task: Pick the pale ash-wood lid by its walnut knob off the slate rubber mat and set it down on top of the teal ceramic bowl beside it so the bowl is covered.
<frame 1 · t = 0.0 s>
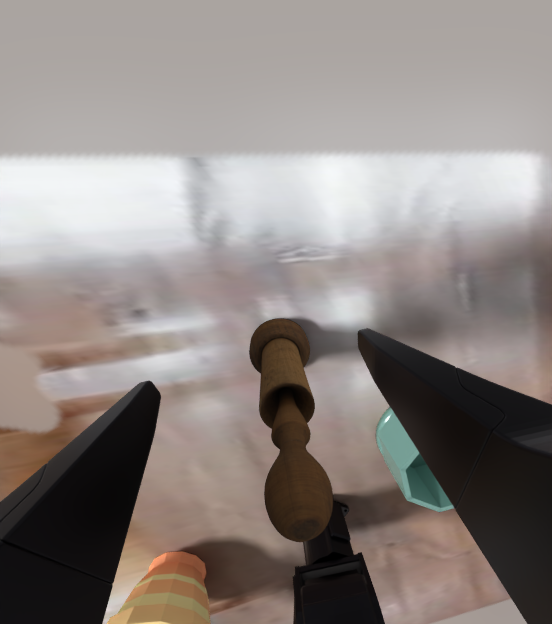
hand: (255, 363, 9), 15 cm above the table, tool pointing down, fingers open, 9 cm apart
bowl: (418, 429, 30), on the table
brown wooden upright piece: (278, 343, 26), on the table
potted cactus: (178, 568, 36), on the table
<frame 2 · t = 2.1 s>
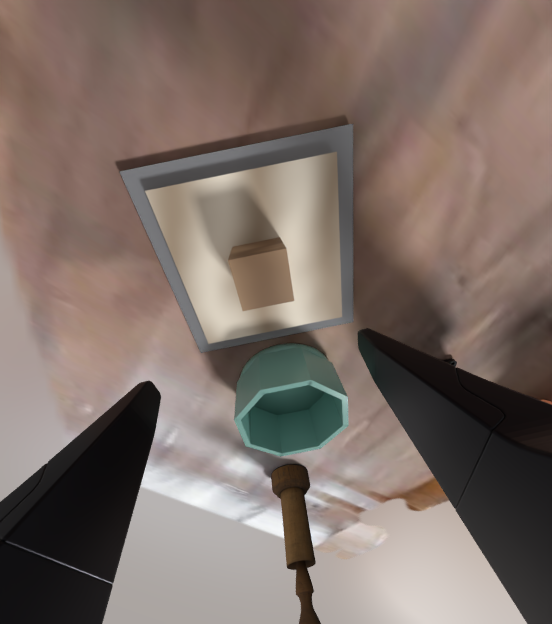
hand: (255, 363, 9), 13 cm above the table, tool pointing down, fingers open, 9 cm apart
bowl: (286, 380, 28), on the table
brown wooden upright piece: (289, 472, 40), on the table
lid: (260, 262, 20), point 1 cm above the table, touching mat
mat: (260, 260, 20), on the table
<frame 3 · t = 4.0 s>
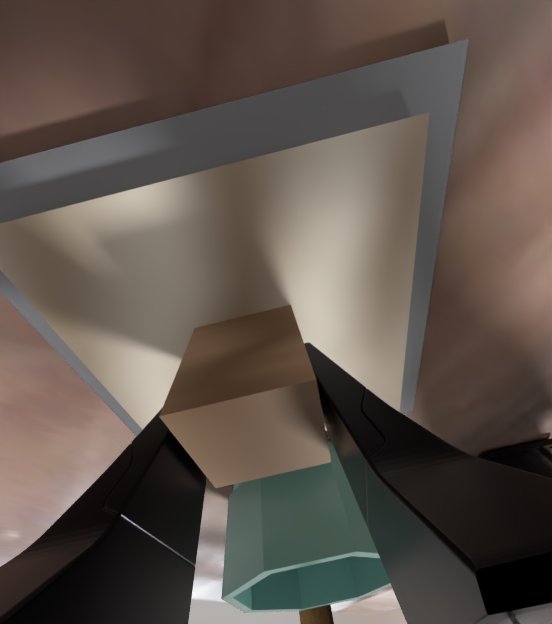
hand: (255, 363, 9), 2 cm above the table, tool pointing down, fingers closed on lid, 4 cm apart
bowl: (303, 479, 19), on the table
brown wooden upright piece: (307, 560, 31), on the table
lid: (255, 342, 11), point 1 cm above the table, touching gripper, mat
mat: (254, 335, 11), on the table
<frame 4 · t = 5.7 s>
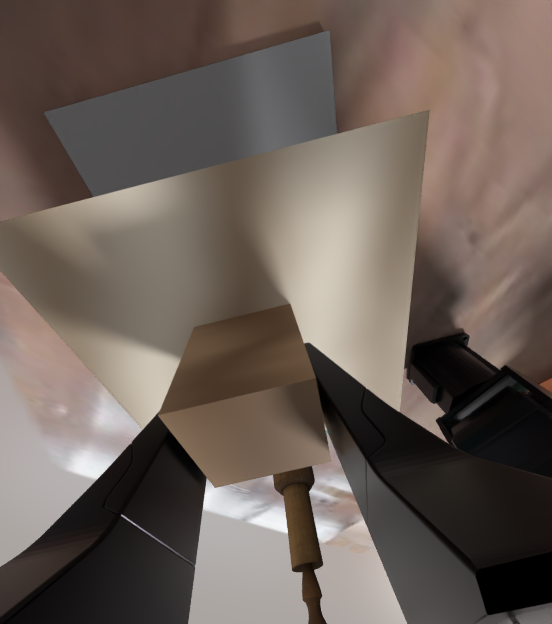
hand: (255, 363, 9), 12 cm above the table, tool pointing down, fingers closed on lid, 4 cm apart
brown wooden upright piece: (292, 467, 37), on the table
lid: (254, 341, 11), point 10 cm above the table, touching gripper
mat: (233, 224, 17), on the table
when the fingers open (9 cm above the table, at t = 7.7 s): lid drops 1 cm, resting on bowl.
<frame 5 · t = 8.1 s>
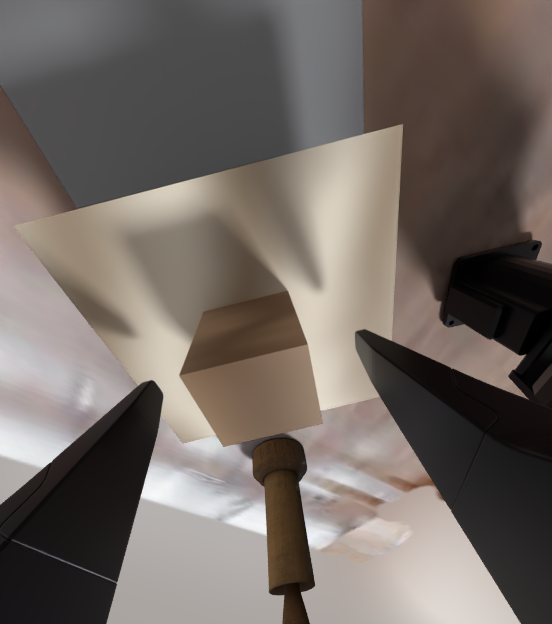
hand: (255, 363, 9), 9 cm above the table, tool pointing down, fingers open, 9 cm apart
brown wooden upright piece: (278, 451, 28), on the table
lid: (256, 326, 12), point 6 cm above the table, touching bowl
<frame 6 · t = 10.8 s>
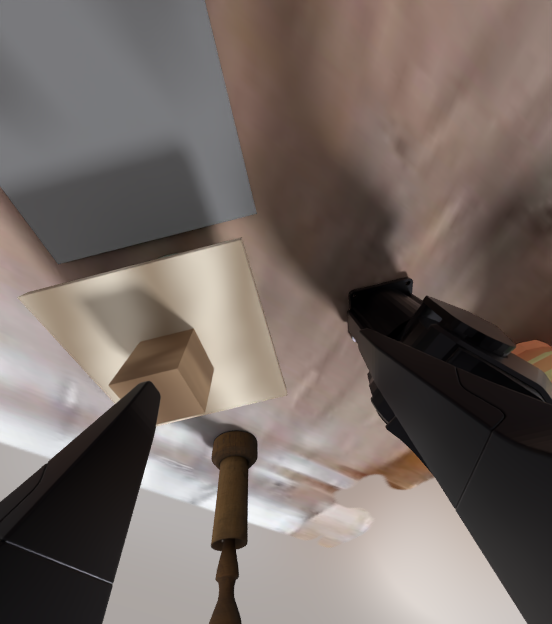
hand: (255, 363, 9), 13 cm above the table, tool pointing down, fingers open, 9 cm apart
brown wooden upright piece: (235, 441, 34), on the table
potted cactus: (513, 364, 31), on the table
lid: (182, 349, 17), point 6 cm above the table
mat: (96, 106, 14), on the table
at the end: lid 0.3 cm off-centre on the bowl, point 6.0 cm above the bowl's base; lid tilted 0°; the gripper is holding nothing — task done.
